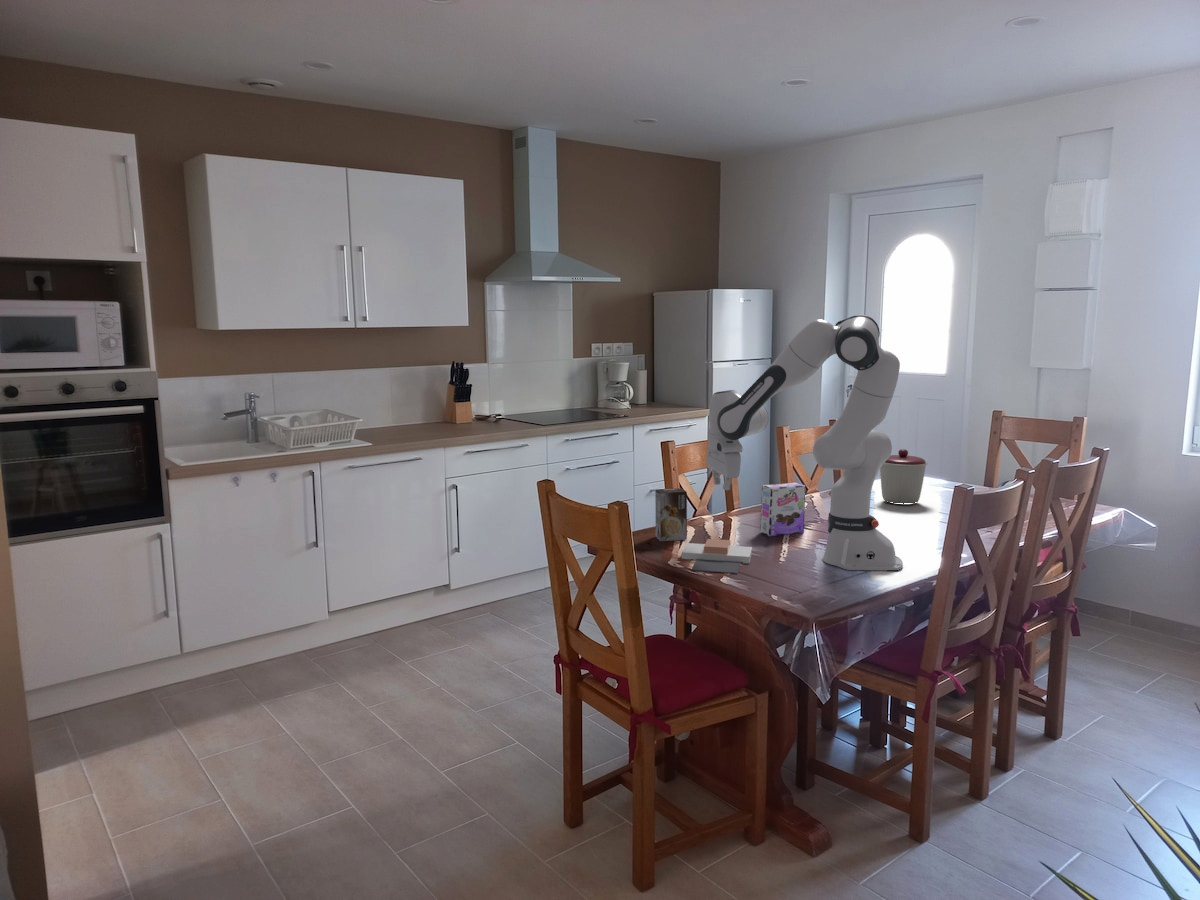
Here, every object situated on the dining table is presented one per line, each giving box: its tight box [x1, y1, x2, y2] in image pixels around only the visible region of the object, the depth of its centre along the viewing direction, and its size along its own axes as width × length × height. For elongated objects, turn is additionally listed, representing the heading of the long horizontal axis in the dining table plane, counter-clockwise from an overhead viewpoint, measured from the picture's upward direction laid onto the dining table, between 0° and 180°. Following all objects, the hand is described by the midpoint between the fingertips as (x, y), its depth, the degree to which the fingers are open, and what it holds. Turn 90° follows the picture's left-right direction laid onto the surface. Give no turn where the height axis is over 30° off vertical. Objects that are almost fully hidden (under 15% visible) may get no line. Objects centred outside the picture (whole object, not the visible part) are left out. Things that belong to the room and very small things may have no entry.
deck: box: [681, 542, 753, 564], centre depth 258 cm, size 20×11×2 cm, turn 76°
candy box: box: [759, 482, 806, 537], centre depth 285 cm, size 14×6×16 cm, turn 112°
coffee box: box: [654, 487, 688, 542], centre depth 278 cm, size 9×6×16 cm
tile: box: [704, 538, 731, 554], centre depth 258 cm, size 7×9×2 cm
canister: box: [879, 448, 929, 504], centre depth 331 cm, size 18×18×21 cm
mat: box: [690, 559, 742, 575], centre depth 247 cm, size 13×11×1 cm
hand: (721, 487), depth 264 cm, fingers open, 7 cm apart
